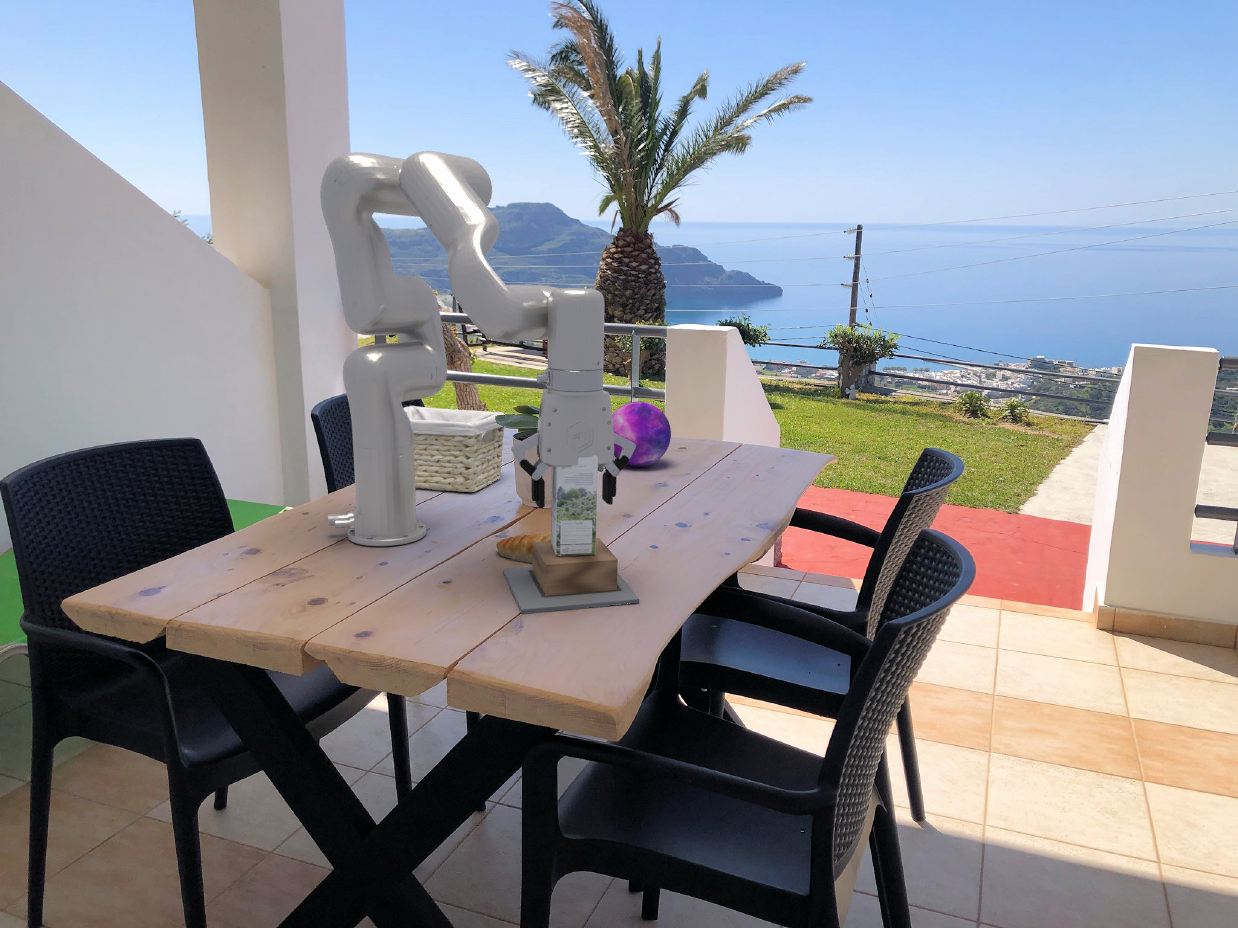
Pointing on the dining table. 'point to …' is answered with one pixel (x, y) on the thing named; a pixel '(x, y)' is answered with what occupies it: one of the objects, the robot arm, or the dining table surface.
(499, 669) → the dining table surface
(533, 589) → the slate mat
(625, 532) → the dining table surface
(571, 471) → the syrup box
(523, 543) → the pastry
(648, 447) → the decorative orb
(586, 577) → the plinth
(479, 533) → the dining table surface
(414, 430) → the storage basket
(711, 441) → the dining table surface
